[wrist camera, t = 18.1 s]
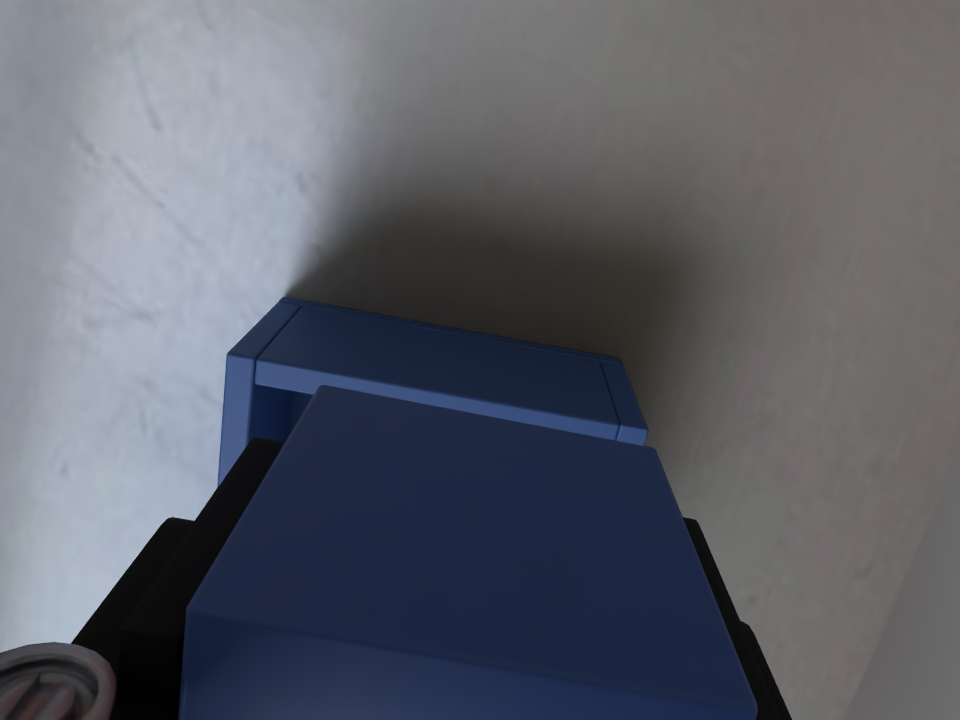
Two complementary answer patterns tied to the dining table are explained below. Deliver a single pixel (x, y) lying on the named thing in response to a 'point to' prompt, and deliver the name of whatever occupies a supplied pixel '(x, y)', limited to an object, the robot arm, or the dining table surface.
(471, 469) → the blue block
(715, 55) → the dining table surface
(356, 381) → the blue bin
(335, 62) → the dining table surface
